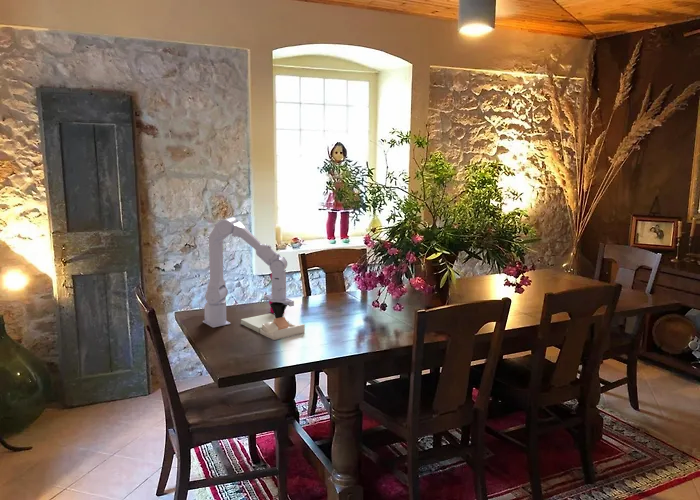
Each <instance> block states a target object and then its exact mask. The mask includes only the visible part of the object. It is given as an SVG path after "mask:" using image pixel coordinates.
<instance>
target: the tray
mask: <svg viewBox="0 0 700 500" xmlns="http://www.w3.org/2000/svg"><path fill="white" fill-rule="evenodd" d="M288 324H289V326H288V328H285V329H281V330H277V331H273V333H271V334H269V333H267V332H265V331H264V330H263V329H260V333H259V334H260V335H263V336H265V337H267V338H269V339H270V340H273V341H277V340H282V339H286V338H290V337H294V336H297V335H298V336H299V335H302V334H305V327H306V326H305V325H306V324H304V323H303V324H299V325H296V324H293V323H290V322H289V323H288Z"/></svg>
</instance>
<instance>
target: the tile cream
mask: <svg viewBox="0 0 700 500" xmlns="http://www.w3.org/2000/svg"><path fill="white" fill-rule="evenodd" d="M262 329H263V330H264V331H265V332H267V333H269V334H271V333H273V331H277V330H278V327H277V326H276V325H275V324H274V323H273V322H270V323H265V324H262Z"/></svg>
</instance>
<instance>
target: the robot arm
mask: <svg viewBox="0 0 700 500" xmlns="http://www.w3.org/2000/svg"><path fill="white" fill-rule="evenodd" d="M229 235H231V237H234V238H235V237H237V238H241V239H242V240H243V241H244V242H246V243H247V245H249V246H251V248H253V249H254V250H255V255H256V256H257V257H258V258H260V259H261V261H263V262H264V263H265V264H266V265H267V266H269V271H270V272H271V273H272V280H271V294H272V295H271V294H265V295H264V299H263V300H264V301H268V302H269V301H271V302H273V303H272V304H269V306H270V308H271V307H272V309H273V311H274V313H273V315H275V318H281V317H284V314H285V311H286V308H287V307H294V306H295V301H294V300H292V299H290V298H288V297H287V275H286V274H287V273H286V268H287V267H288V260H287V259H286V257H284V256H282V255H281V254H280V253H277V252H276V251H274V249H273V248H272V246H271V245H270V244H269V245H268V244H267V243H261V242H260V241H259V240H258V238H257V237H255V236H254V235H253V233H251V231H249V229H247V228H246V227H245V225H244V224H243V223H242V222H241V221H239V220H238V219H237V218H236V217H235V216H230V217H226V218H225V219H221V220H219V221H218V222H216V223H215V224H214V227H213V229H212V230H211V233H210V234H209V236H208V251H209V282H208V284H207V288H206V289H207V291H206V293H205V300H206V303H205V304H204V320H202V323H204V324H205V325H207V326H208V327H211V328H217V327H222V326H226V325H231V322H230V321H228V320H227V300H226V297H227V296H228V293H229V292H228V287H227V285H226V281H225V279H224V257H223V256H224V253H223V252H224V250H223V247H224V245H223V242H224V240H225V239H226V238H228V236H229Z"/></svg>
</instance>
